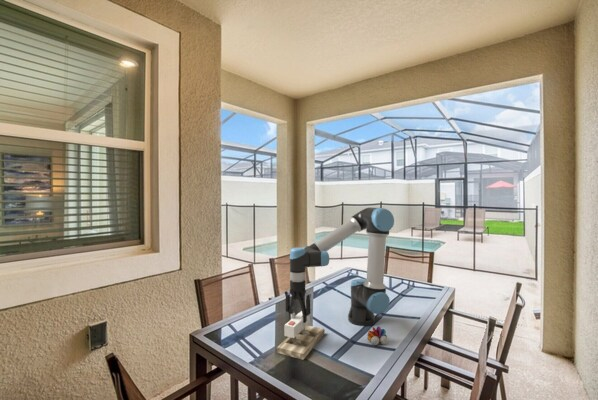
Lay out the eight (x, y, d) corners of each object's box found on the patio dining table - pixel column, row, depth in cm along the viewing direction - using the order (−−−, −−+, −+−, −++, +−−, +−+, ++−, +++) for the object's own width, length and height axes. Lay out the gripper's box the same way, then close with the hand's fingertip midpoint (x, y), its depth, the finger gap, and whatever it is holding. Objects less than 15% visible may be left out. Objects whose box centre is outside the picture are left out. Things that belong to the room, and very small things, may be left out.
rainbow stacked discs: (365, 337, 139) (364, 323, 139) (383, 336, 140) (383, 322, 140) (370, 346, 131) (370, 331, 131) (390, 345, 132) (390, 330, 132)
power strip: (309, 326, 143) (309, 311, 143) (294, 342, 127) (294, 325, 127) (301, 324, 145) (301, 309, 145) (284, 340, 129) (284, 323, 129)
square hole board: (324, 333, 144) (324, 328, 144) (303, 359, 120) (303, 353, 120) (301, 328, 149) (301, 324, 149) (277, 352, 126) (277, 347, 126)
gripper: (317, 280, 135) (318, 328, 135) (285, 275, 143) (285, 321, 143) (311, 284, 129) (311, 334, 129) (277, 279, 136) (278, 327, 136)
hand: (297, 327), depth 136 cm, fingers closed on power strip, 5 cm apart
